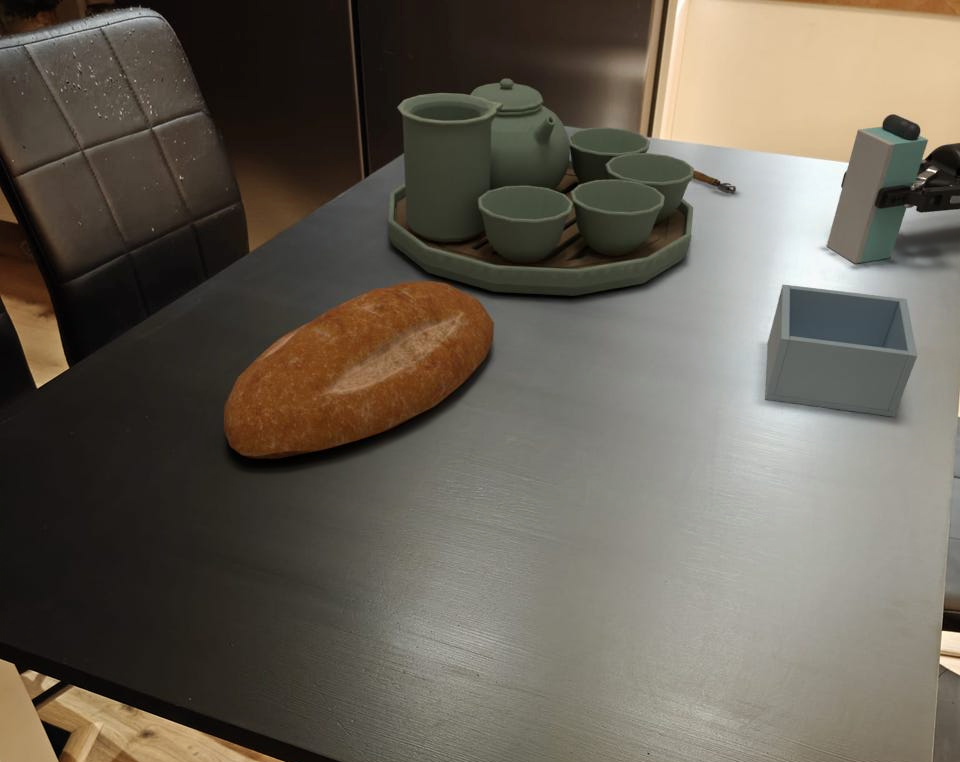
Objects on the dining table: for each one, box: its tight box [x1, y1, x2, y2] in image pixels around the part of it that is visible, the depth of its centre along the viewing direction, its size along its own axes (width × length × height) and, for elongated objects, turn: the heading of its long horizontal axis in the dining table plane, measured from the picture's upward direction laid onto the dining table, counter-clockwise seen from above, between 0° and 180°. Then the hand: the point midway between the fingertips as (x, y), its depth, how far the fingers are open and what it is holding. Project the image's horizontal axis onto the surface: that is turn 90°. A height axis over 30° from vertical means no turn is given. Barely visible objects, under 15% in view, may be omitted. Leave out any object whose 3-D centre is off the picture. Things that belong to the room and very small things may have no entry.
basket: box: [764, 284, 918, 418], centre depth 96 cm, size 13×13×7 cm
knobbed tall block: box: [826, 113, 929, 264], centre depth 116 cm, size 6×6×16 cm
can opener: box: [692, 170, 737, 194], centre depth 138 cm, size 9×2×1 cm, turn 34°
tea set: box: [387, 78, 695, 297], centre depth 118 cm, size 40×40×16 cm
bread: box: [223, 280, 495, 460], centre depth 91 cm, size 18×35×9 cm, turn 142°
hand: (861, 189), depth 115 cm, fingers closed on knobbed tall block, 6 cm apart
